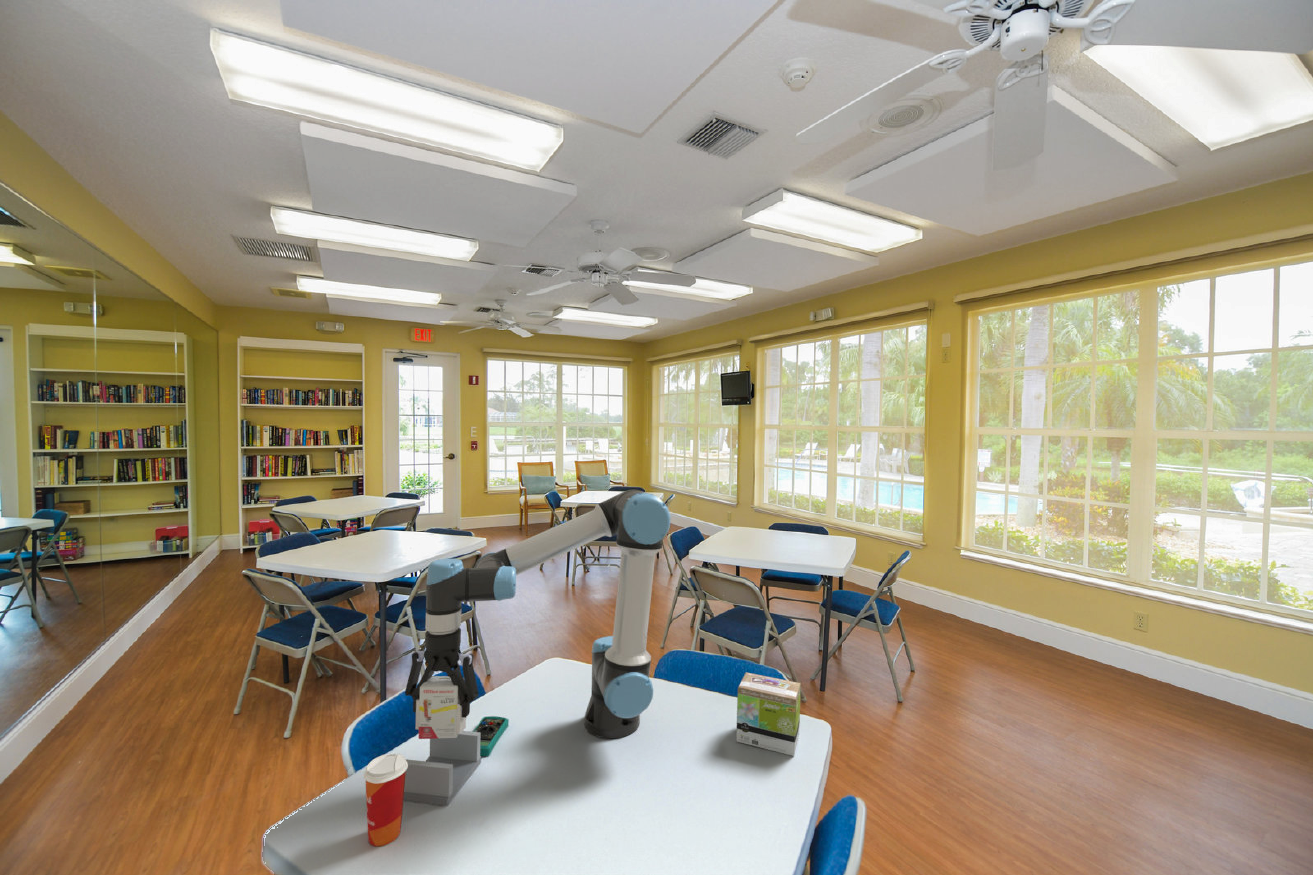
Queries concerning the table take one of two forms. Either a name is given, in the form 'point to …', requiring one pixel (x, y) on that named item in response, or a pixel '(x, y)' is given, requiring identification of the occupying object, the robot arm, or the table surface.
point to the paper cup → (385, 797)
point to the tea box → (768, 713)
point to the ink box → (438, 708)
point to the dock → (443, 769)
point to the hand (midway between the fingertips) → (440, 728)
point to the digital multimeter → (490, 732)
